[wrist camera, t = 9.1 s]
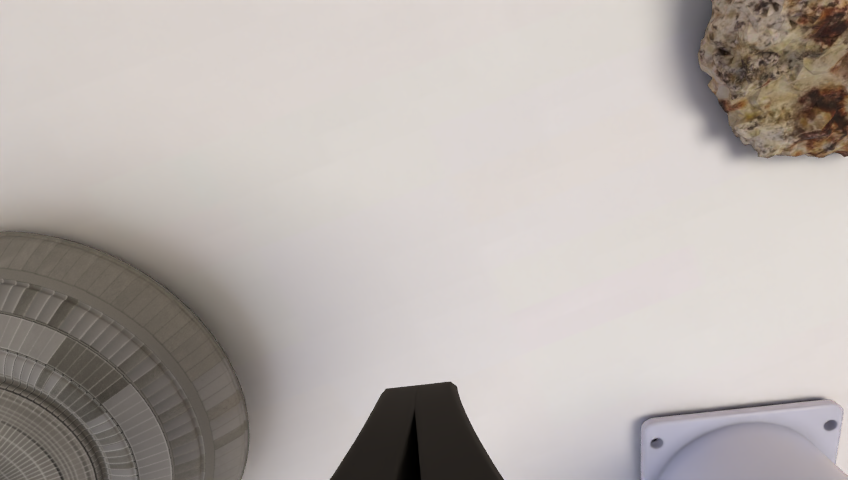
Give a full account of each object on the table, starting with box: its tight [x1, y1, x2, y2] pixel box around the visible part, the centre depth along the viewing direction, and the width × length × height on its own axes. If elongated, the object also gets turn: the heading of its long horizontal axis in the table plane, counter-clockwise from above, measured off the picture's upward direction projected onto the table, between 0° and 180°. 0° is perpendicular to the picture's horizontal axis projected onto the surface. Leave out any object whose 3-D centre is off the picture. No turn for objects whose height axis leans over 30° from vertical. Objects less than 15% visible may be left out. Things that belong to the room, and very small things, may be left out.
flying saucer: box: [0, 232, 249, 480], centre depth 17 cm, size 15×15×6 cm
